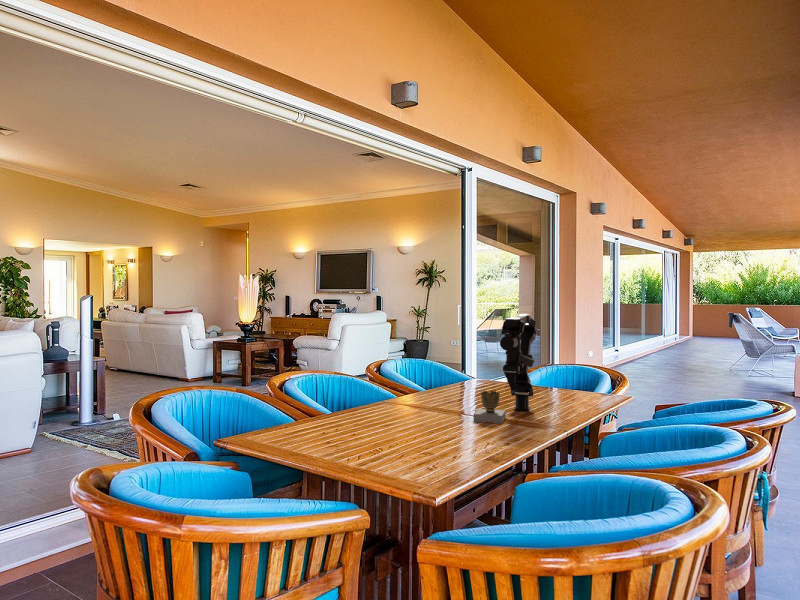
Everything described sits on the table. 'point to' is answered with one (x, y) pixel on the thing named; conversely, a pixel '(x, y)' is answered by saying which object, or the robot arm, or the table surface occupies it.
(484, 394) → the ornate bronze lamp shade
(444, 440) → the table surface
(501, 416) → the plinth
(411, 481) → the table surface
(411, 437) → the table surface
